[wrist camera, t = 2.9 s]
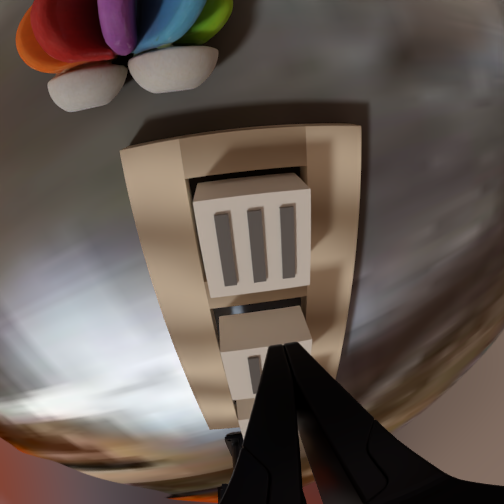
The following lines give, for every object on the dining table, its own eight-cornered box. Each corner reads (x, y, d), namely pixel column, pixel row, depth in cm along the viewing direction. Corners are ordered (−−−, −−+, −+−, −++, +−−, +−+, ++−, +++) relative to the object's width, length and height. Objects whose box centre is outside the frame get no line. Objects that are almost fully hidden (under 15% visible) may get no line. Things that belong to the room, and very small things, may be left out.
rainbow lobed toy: (63, -8, 8) (-6, -41, 2) (229, -43, 9) (238, -117, 3) (63, 118, 12) (-22, 139, 6) (233, 89, 13) (246, 74, 7)
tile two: (298, 356, 20) (308, 390, 18) (229, 366, 20) (232, 402, 17) (299, 305, 18) (312, 341, 15) (218, 316, 18) (220, 354, 15)
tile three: (296, 255, 17) (310, 286, 14) (211, 266, 17) (210, 299, 14) (294, 172, 15) (311, 189, 12) (197, 183, 15) (192, 203, 12)
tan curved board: (324, 400, 27) (328, 412, 26) (209, 417, 26) (209, 429, 25) (349, 123, 14) (361, 126, 13) (128, 146, 14) (119, 150, 12)
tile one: (295, 409, 24) (302, 437, 21) (242, 417, 24) (245, 445, 21) (297, 380, 22) (305, 411, 19) (235, 389, 21) (238, 421, 19)
